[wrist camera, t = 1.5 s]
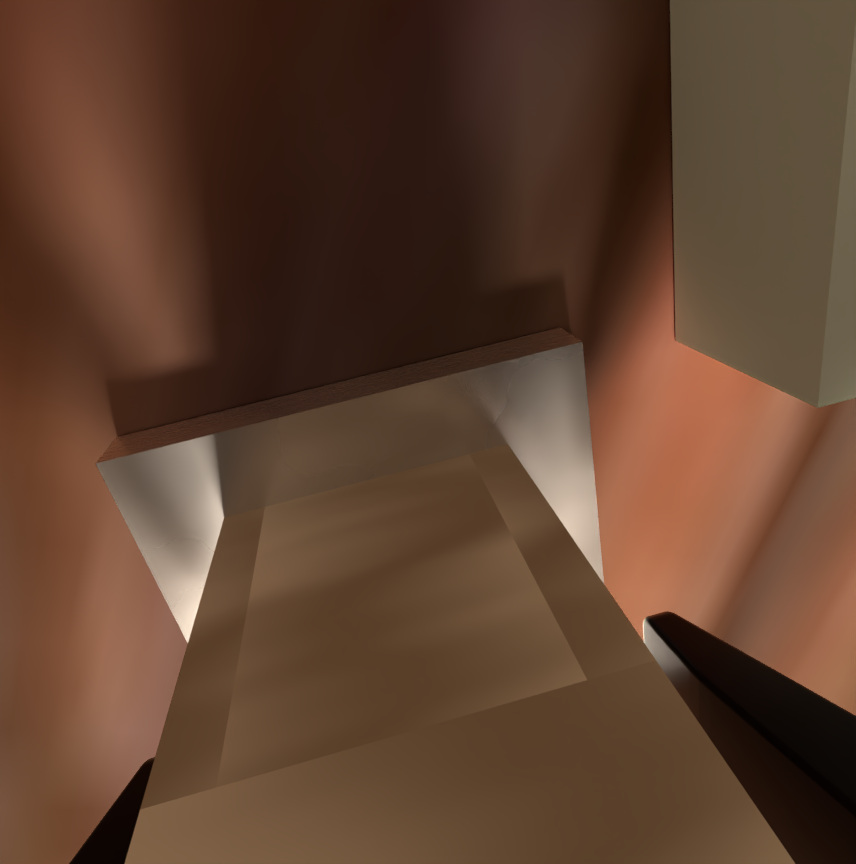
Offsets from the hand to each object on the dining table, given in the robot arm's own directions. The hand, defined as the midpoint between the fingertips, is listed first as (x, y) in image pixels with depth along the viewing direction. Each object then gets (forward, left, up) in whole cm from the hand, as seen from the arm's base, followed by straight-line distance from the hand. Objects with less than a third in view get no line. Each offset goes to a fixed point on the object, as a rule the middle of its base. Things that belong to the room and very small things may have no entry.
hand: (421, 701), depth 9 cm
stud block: (0, 0, -4) cm, 4 cm away
